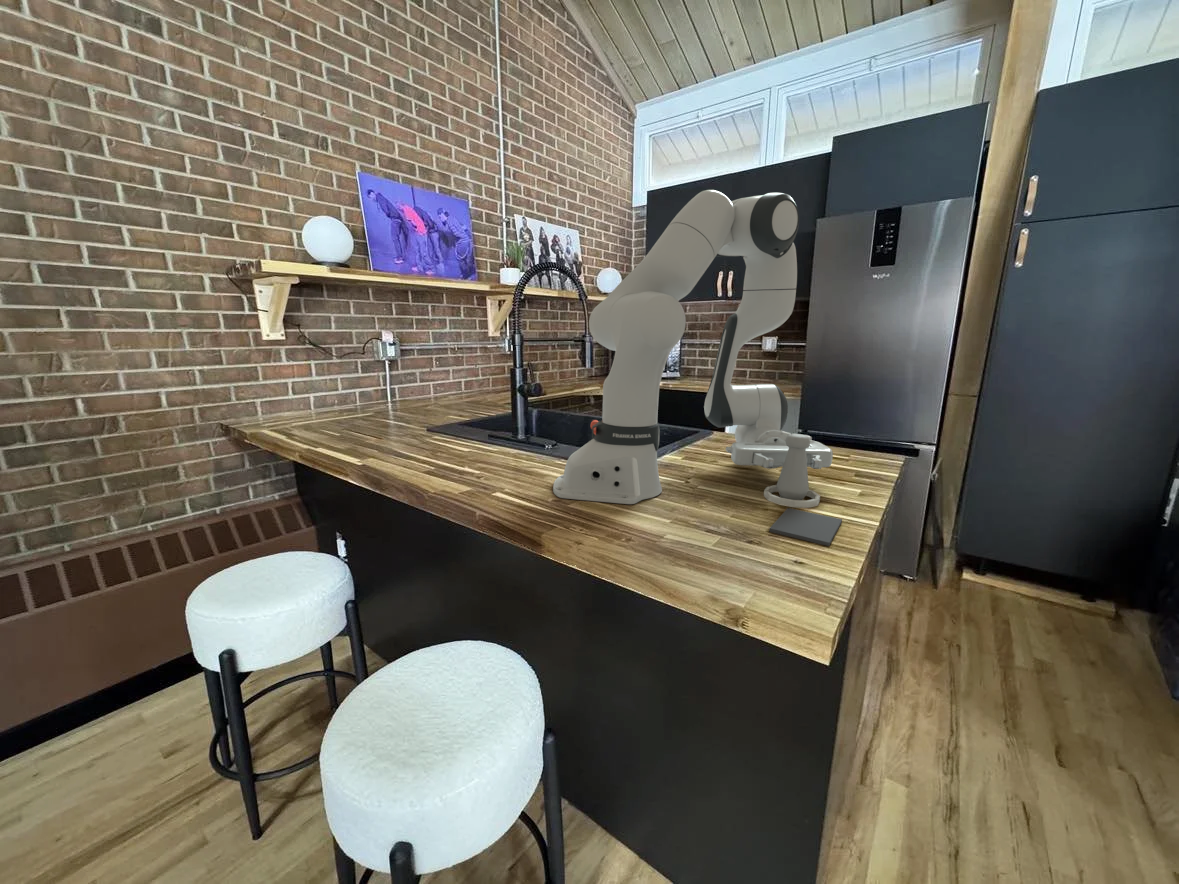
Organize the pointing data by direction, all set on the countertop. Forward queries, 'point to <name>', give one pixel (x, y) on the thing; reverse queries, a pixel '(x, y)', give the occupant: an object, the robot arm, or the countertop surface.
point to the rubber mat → (807, 526)
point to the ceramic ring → (792, 503)
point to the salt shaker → (794, 469)
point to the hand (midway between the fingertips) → (794, 464)
